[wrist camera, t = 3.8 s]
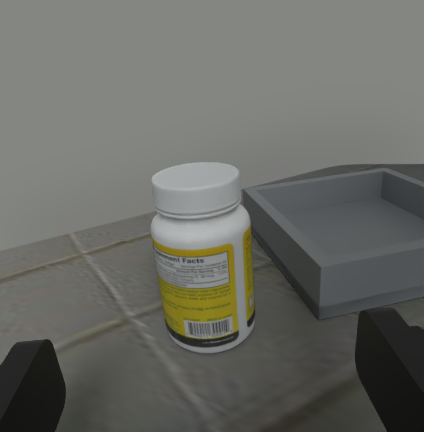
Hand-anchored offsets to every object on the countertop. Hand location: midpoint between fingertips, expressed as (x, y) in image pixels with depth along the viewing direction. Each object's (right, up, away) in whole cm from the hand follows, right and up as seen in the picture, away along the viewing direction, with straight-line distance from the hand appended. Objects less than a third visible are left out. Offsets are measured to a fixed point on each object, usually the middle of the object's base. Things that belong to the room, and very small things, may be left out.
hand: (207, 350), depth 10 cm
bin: (+11, +1, +17) cm, 20 cm away
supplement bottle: (0, -2, +10) cm, 10 cm away
